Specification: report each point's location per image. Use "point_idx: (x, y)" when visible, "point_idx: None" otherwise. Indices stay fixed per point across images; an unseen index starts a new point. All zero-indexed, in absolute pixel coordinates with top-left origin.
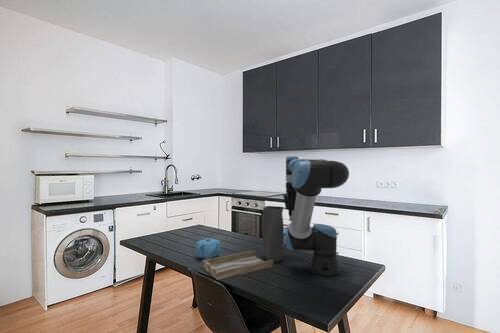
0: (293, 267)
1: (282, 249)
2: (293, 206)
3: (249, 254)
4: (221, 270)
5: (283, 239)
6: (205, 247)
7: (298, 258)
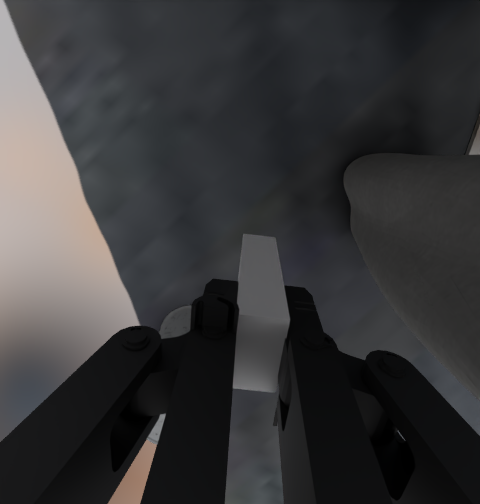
0: (406, 16)
1: (379, 158)
2: (230, 400)
3: None
4: None
5: (171, 330)
6: None
7: (259, 117)
